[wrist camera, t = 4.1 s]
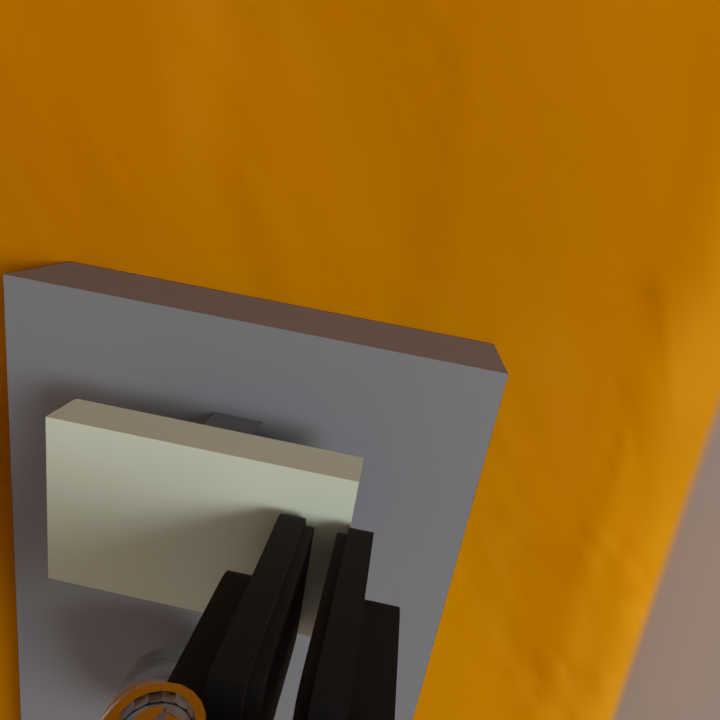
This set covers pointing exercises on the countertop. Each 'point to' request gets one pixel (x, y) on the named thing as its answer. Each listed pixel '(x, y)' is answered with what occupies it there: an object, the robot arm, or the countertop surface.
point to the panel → (246, 415)
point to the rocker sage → (182, 503)
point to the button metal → (148, 672)
